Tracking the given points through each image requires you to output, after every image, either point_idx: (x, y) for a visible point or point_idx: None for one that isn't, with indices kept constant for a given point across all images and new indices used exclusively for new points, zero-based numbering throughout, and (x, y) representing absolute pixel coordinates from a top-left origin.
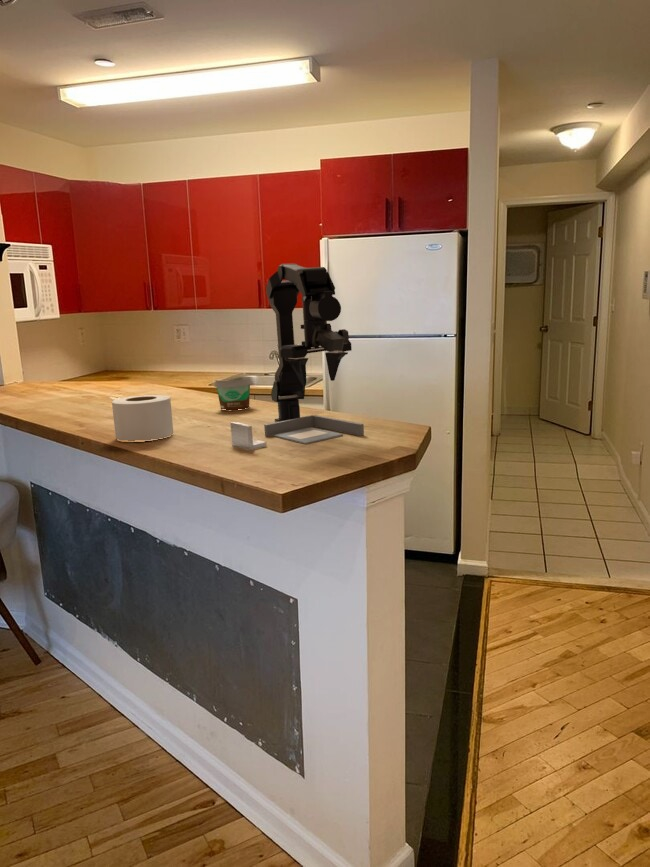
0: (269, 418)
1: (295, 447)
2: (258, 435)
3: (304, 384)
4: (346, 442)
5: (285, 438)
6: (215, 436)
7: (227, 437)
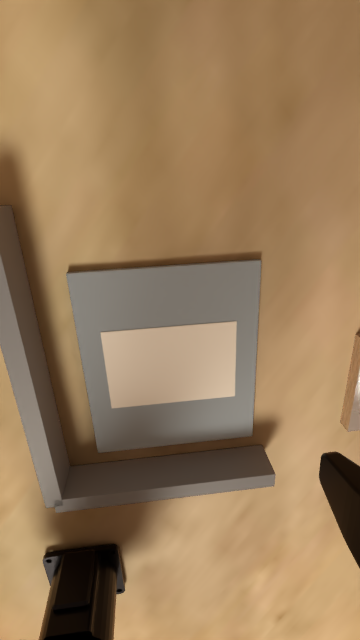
0: None
1: (312, 246)
2: None
3: (345, 457)
4: (126, 152)
5: (254, 375)
6: None
7: None
